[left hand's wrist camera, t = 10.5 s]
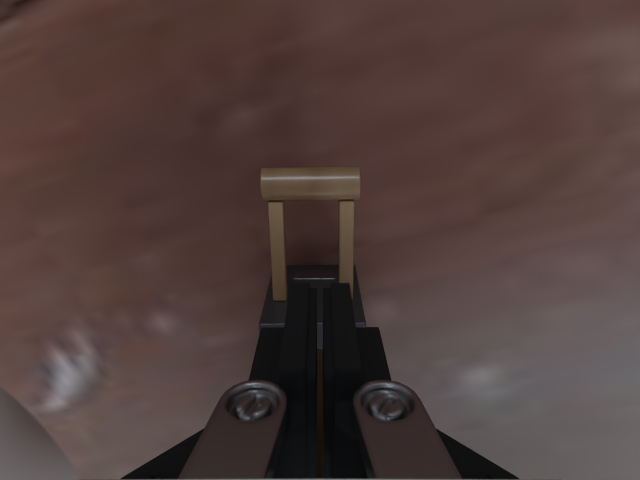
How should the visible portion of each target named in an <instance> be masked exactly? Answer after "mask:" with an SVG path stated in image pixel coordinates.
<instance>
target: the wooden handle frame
mask: <svg viewBox="0 0 640 480" xmlns="http://www.w3.org/2000/svg"><path fill="white" fill-rule="evenodd" d="M260 190H261V197H262V200H263V201H269V202H268V217H269V235H270V253H271V271H272V274H271V279H270V283H269V287H268V291H267V295H266V299H265V303H264V307H263V311H262V315H261V319H260V323H259V331H261V328H262V327H284V325H285V318H286V311H287V304H288V297H289V290H290V283H310V288H317V450H316V479H324V450H323V288H330V283H350V290H351V297H352V304H353V311H354V318H355V325H356V327H366V322H365V317H364V311H363V306H362V300H361V295H360V290H359V284H358V279H357V274H356V268H355V265H353V264H354V200H358V199H359V198H360V190H361V177H360V168H359V167H290V168H262V169H261V174H260ZM285 200H339V265H287V261H286V238H285V215H284V201H285Z"/></svg>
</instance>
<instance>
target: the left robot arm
mask: <svg viewBox="0 0 640 480" xmlns="http://www.w3.org/2000/svg"><path fill="white" fill-rule="evenodd" d="M316 450H317V288H310V283H290V290H289V297H288V304H287V311H286V318H285V325H284V327H262V328H261V331H260V335H259V339H258V343H257V348H256V352H255V356H254V360H253V365H252V369H251V373H250V377H249V381H245V382H241V383H239V384H237V385H234V386H232V387H231V388H230V389H228V390H227V391H226V392H225V393H224V394H223V396H222V397H221V398H220V400H219V402H218V404H217V406H216V408H215V409H214V411H213V413H212V415H211V417H210V419H209V421H208V423H207V424H206V426H205V428H204V429H202V430H201V431H199V432H197V433H196V434H194V435H192V436H191V437H189V438H187V439H186V440H184V441H182V442H181V443H179V444H177V445H176V446H174V447H172V448H171V449H169V450H167V451H166V452H164V453H162V454H161V455H159V456H157V457H156V458H154V459H152V460H151V461H149V462H147V463H146V464H144V465H142V466H141V467H139V468H137V469H136V470H134V471H132V472H131V473H129V474H127V475H126V476H124V477H123V478H121V479H81V480H559V479H519V478H517V477H516V476H514V475H513V474H511V473H509V472H508V471H506V470H504V469H503V468H501V467H499V466H498V465H496V464H494V463H493V462H491V461H489V460H488V459H486V458H484V457H483V456H481V455H479V454H478V453H476V452H474V451H473V450H471V449H469V448H468V447H466V446H464V445H463V444H461V443H459V442H458V441H456V440H454V439H453V438H451V437H449V436H448V435H446V434H444V433H443V432H441V431H439V430H438V429H436V428H435V426H434V424H433V423H432V421H431V419H430V417H429V415H428V413H427V411H426V409H425V408H424V406H423V404H422V402H421V400H420V398H419V397H418V396H417V394H416V393H415V392H414V391H413V390H412V389H410V388H409V387H408V386H406V385H403V384H401V383H399V382H395V381H391V377H390V373H389V369H388V365H387V360H386V356H385V352H384V348H383V343H382V339H381V335H380V331H379V328H378V327H356V325H355V318H354V311H353V304H352V297H351V290H350V283H330V288H323V450H324V479H316Z"/></svg>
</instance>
